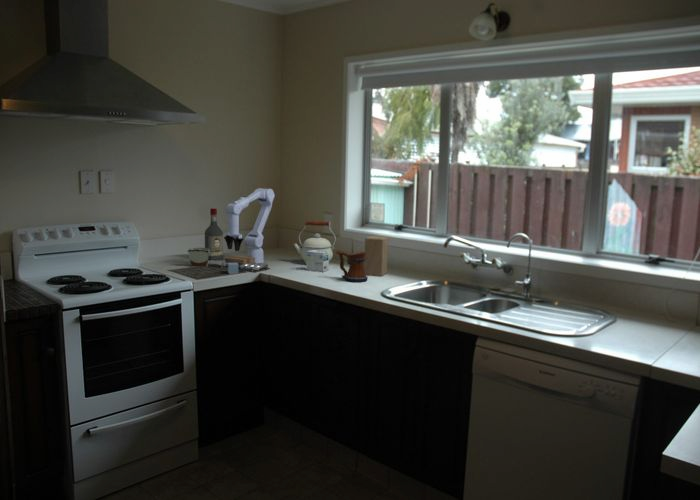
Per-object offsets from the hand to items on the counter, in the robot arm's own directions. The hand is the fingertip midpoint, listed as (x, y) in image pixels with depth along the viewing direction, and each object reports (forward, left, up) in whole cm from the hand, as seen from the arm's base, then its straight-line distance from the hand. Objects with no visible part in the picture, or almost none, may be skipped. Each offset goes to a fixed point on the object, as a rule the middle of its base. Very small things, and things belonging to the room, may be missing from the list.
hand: (233, 250), depth 325 cm
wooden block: (-28, +74, -10) cm, 80 cm away
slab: (-1, +4, -6) cm, 8 cm away
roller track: (0, +8, -9) cm, 12 cm away
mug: (-8, +70, -10) cm, 71 cm away
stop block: (+11, +9, -7) cm, 16 cm away
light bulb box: (-19, +43, -10) cm, 48 cm away
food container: (+9, -16, -10) cm, 21 cm away
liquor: (-12, -25, -10) cm, 29 cm away
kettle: (-36, +30, -10) cm, 48 cm away
